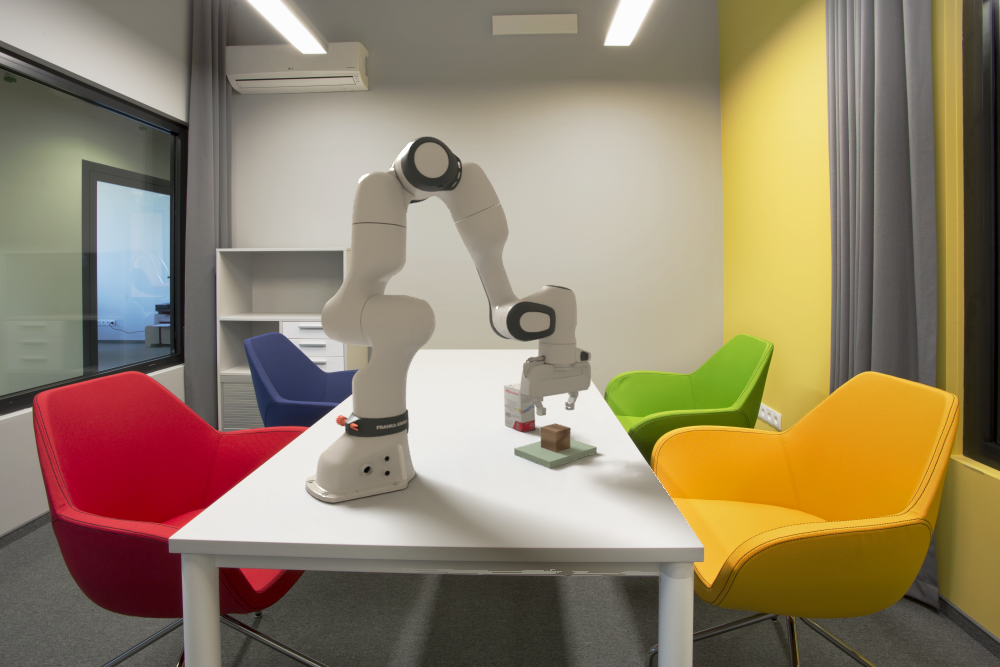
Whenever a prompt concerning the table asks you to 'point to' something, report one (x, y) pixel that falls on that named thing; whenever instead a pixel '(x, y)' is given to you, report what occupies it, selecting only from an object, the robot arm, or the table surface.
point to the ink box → (518, 409)
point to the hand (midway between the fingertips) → (555, 412)
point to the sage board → (554, 453)
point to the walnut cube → (555, 437)
